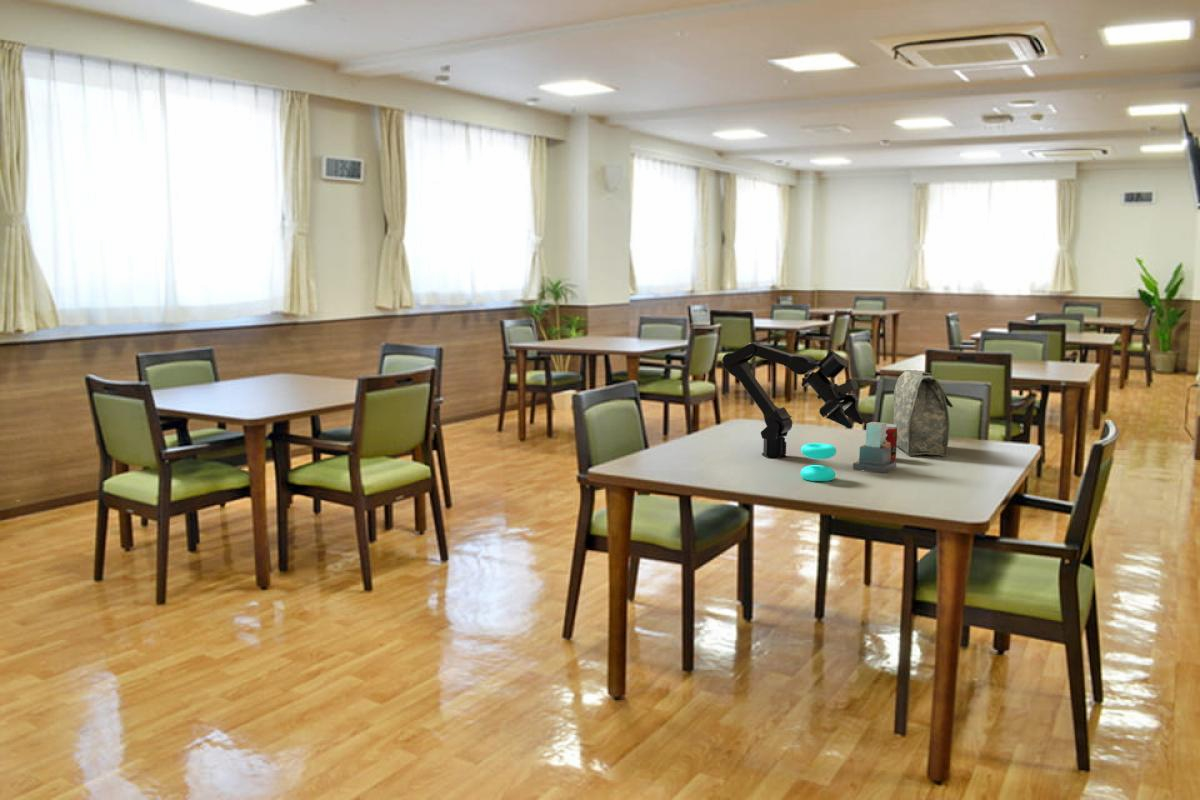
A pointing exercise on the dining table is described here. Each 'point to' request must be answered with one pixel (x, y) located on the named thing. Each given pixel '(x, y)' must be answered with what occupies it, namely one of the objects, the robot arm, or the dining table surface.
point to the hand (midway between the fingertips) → (857, 425)
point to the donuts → (818, 470)
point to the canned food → (892, 438)
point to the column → (876, 434)
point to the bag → (921, 414)
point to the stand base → (875, 459)
